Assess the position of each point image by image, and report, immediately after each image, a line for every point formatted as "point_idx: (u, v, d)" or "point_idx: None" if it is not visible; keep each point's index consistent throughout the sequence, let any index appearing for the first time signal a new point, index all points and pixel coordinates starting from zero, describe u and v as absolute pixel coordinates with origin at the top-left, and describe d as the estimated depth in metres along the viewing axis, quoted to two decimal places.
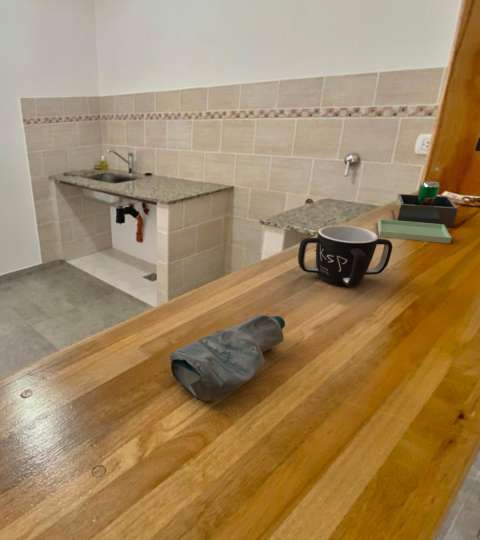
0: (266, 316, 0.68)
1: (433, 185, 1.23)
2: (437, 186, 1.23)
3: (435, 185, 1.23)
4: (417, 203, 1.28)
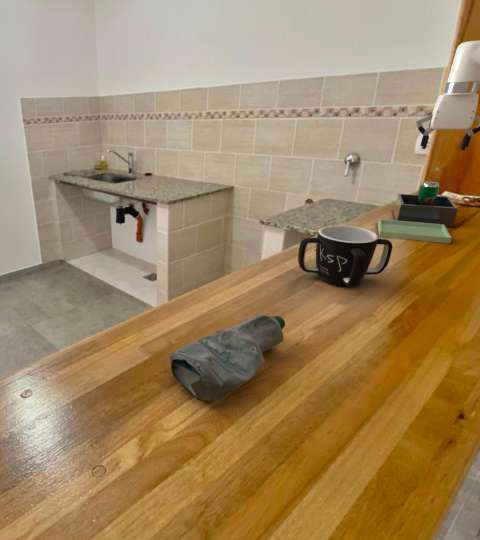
0: (266, 316, 0.68)
1: (433, 185, 1.23)
2: (437, 186, 1.23)
3: (435, 185, 1.23)
4: (417, 203, 1.28)
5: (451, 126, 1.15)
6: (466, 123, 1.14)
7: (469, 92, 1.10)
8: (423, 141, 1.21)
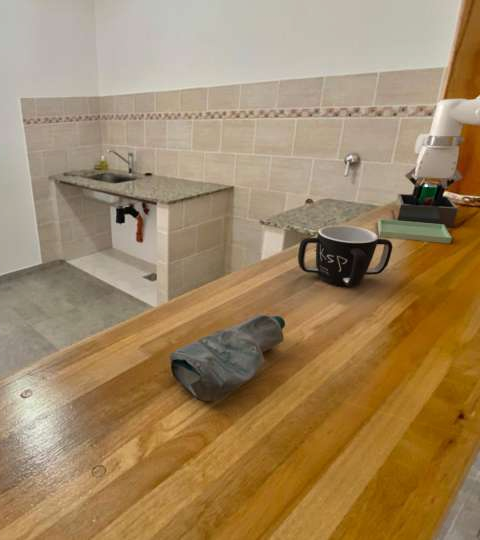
0: (266, 316, 0.68)
1: (433, 185, 1.23)
2: (437, 186, 1.23)
3: (435, 185, 1.23)
4: (417, 203, 1.28)
5: (434, 175, 1.22)
6: (448, 173, 1.20)
7: (449, 146, 1.17)
8: (415, 191, 1.27)
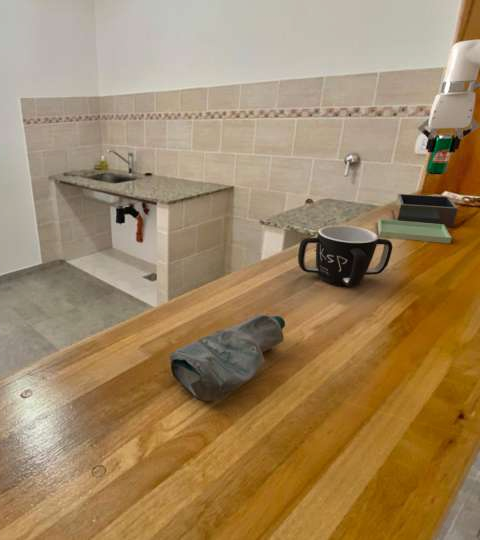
0: (266, 316, 0.68)
1: (448, 136, 1.16)
2: (452, 137, 1.16)
3: (450, 136, 1.16)
4: (431, 157, 1.21)
5: (449, 125, 1.15)
6: (464, 122, 1.13)
7: (465, 92, 1.10)
8: (428, 144, 1.20)
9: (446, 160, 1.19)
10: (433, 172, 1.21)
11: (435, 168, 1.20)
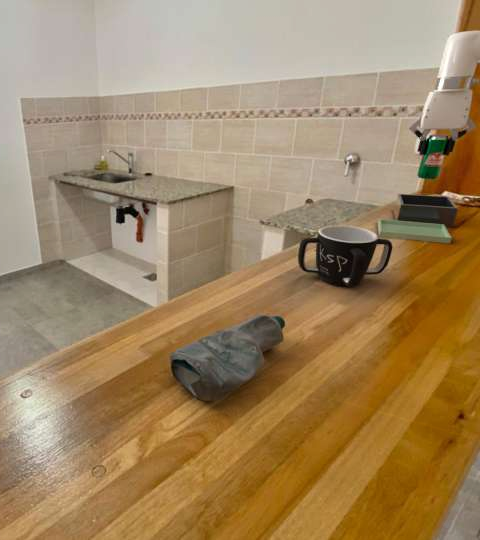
0: (266, 316, 0.68)
1: (442, 137, 1.06)
2: (446, 138, 1.06)
3: (444, 137, 1.06)
4: (423, 160, 1.11)
5: (443, 125, 1.05)
6: (459, 122, 1.03)
7: (461, 88, 1.00)
8: (420, 146, 1.10)
9: (439, 163, 1.09)
10: (425, 176, 1.11)
11: (427, 172, 1.10)
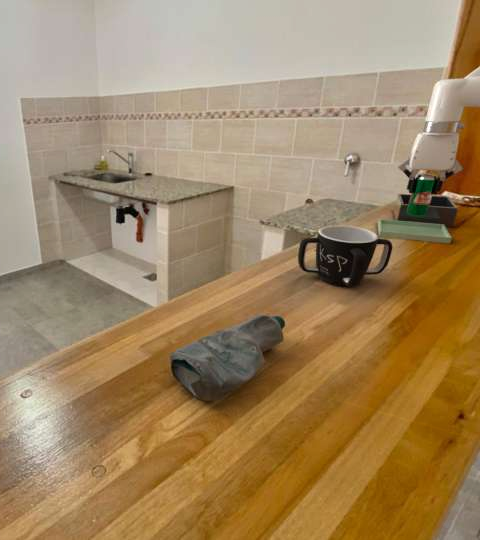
0: (266, 316, 0.68)
1: (430, 178, 1.09)
2: (434, 179, 1.09)
3: (432, 178, 1.09)
4: (412, 198, 1.14)
5: (431, 166, 1.08)
6: (446, 164, 1.06)
7: (448, 133, 1.03)
8: (409, 185, 1.13)
9: (427, 202, 1.12)
10: (414, 214, 1.14)
11: (416, 210, 1.14)
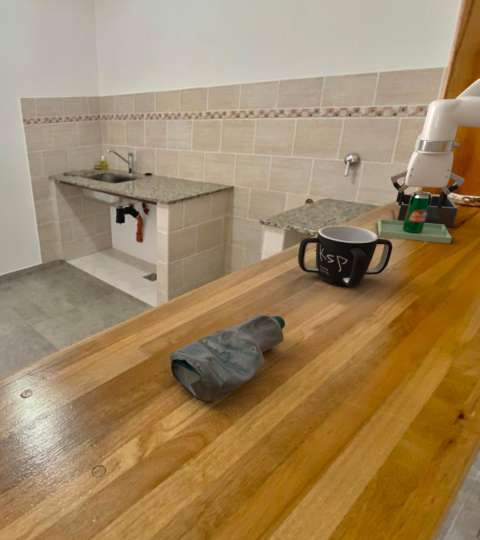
0: (266, 316, 0.68)
1: (425, 196, 1.12)
2: (429, 197, 1.12)
3: (427, 196, 1.12)
4: (407, 215, 1.16)
5: (426, 184, 1.10)
6: (441, 182, 1.08)
7: (443, 152, 1.05)
8: (398, 197, 1.16)
9: (423, 220, 1.14)
10: (409, 231, 1.17)
11: (412, 227, 1.16)
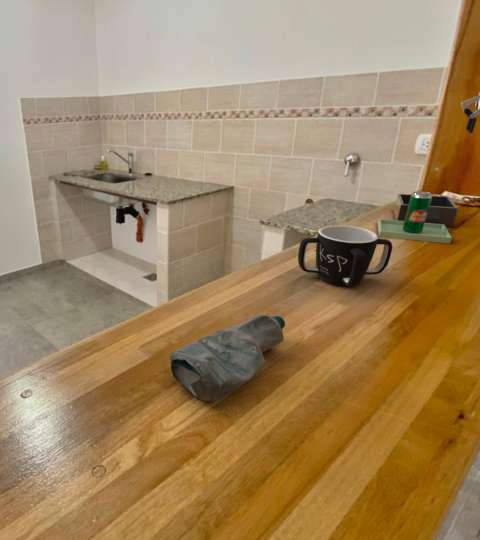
0: (266, 316, 0.68)
1: (425, 196, 1.12)
2: (429, 197, 1.12)
3: (427, 196, 1.12)
4: (408, 215, 1.16)
5: None
6: None
7: None
8: (469, 124, 1.12)
9: (423, 220, 1.14)
10: (409, 231, 1.17)
11: (412, 227, 1.16)
